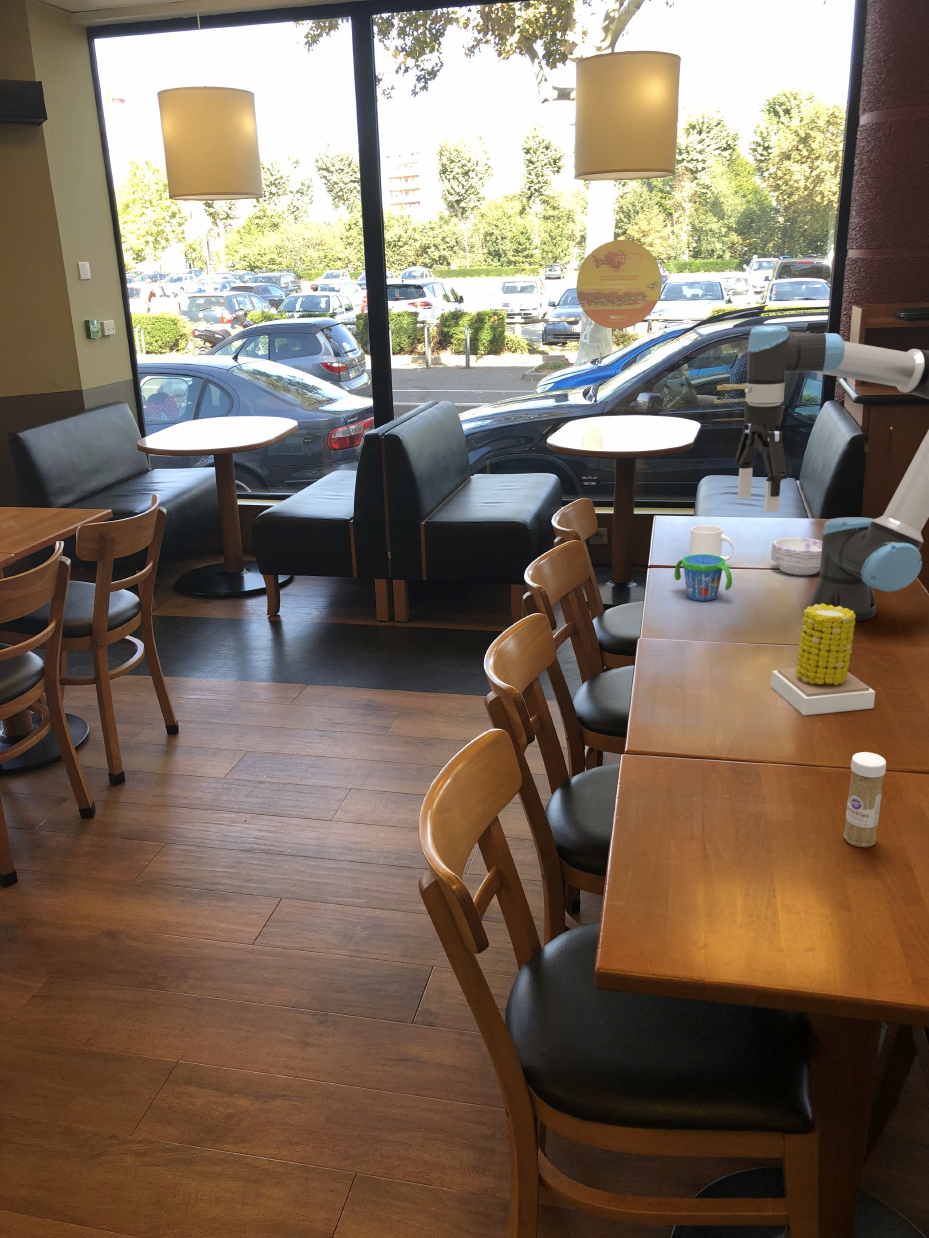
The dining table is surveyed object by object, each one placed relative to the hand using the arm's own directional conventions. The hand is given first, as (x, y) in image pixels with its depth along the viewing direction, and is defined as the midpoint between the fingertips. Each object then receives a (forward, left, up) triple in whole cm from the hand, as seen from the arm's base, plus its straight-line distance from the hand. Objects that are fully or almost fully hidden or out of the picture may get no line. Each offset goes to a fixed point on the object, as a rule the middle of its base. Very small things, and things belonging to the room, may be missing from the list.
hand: (757, 504), depth 208 cm
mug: (-15, -59, -32) cm, 69 cm away
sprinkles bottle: (+18, +79, -32) cm, 87 cm away
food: (-1, +31, -28) cm, 42 cm away
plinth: (-1, +31, -32) cm, 44 cm away
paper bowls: (-36, -48, -32) cm, 68 cm away
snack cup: (-2, -33, -32) cm, 46 cm away
